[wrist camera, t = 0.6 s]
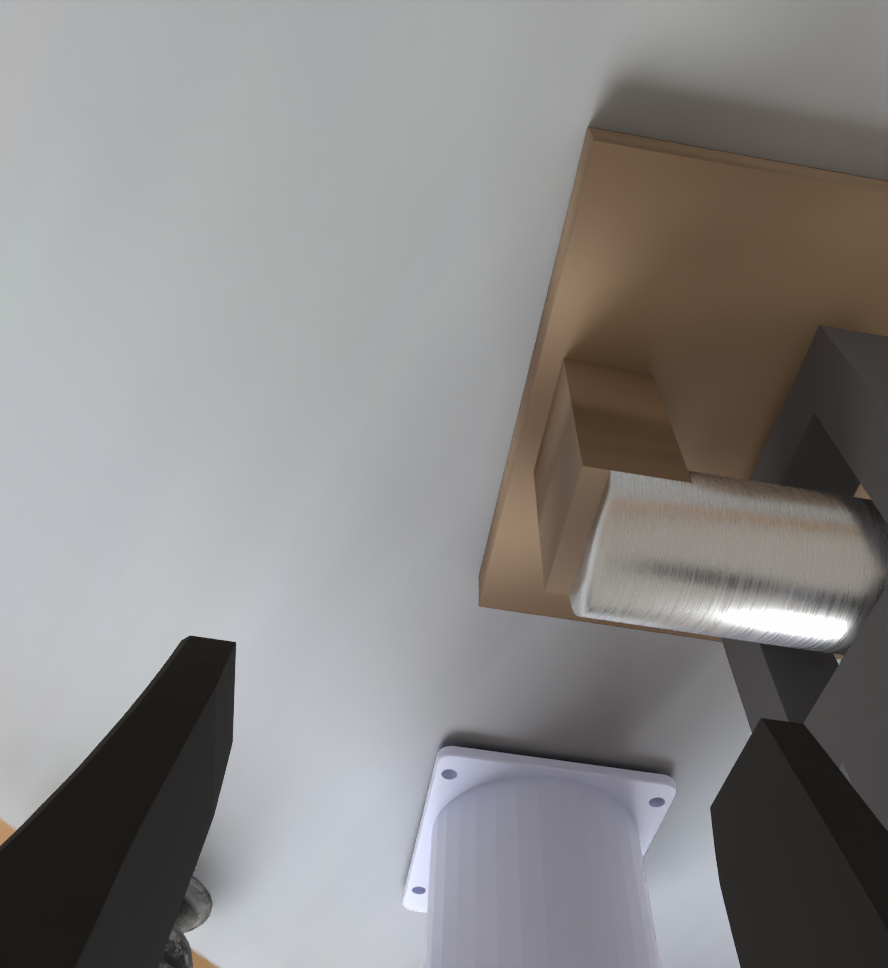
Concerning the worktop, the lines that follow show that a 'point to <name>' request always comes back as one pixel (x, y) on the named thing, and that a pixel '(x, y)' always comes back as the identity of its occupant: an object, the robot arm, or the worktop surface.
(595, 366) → the pipe stand
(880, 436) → the grey pipe bracket
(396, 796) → the worktop surface
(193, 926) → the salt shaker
